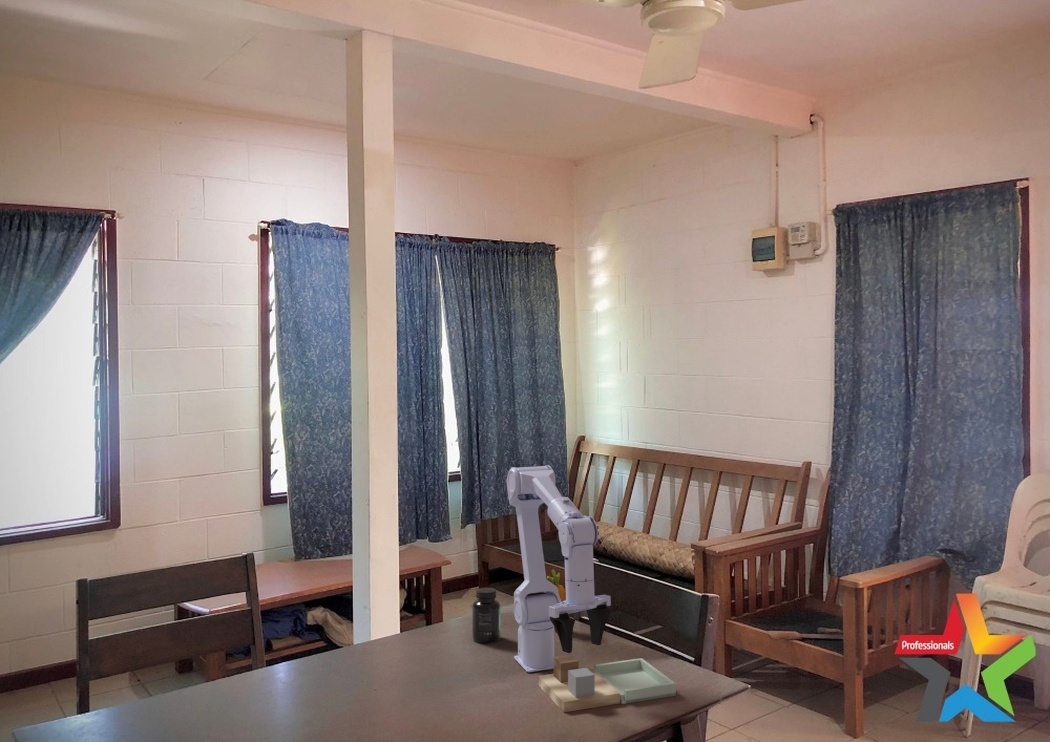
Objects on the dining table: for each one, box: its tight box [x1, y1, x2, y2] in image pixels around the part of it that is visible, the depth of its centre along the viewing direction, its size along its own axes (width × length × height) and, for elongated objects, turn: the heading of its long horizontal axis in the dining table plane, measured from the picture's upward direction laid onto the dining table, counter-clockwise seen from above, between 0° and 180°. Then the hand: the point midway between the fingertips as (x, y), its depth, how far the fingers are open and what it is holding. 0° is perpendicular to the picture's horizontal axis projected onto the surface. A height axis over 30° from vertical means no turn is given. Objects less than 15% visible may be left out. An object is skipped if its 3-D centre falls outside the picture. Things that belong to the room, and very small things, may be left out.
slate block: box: [568, 667, 595, 698], centre depth 168 cm, size 4×4×4 cm
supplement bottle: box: [471, 587, 502, 645], centre depth 205 cm, size 7×7×12 cm
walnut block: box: [553, 654, 580, 683], centre depth 176 cm, size 4×4×4 cm
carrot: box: [546, 569, 566, 632], centre depth 211 cm, size 5×5×15 cm
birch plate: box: [538, 668, 621, 713], centre depth 172 cm, size 14×12×2 cm
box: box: [594, 657, 677, 705], centre depth 176 cm, size 15×12×2 cm
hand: (581, 647), depth 168 cm, fingers open, 7 cm apart
